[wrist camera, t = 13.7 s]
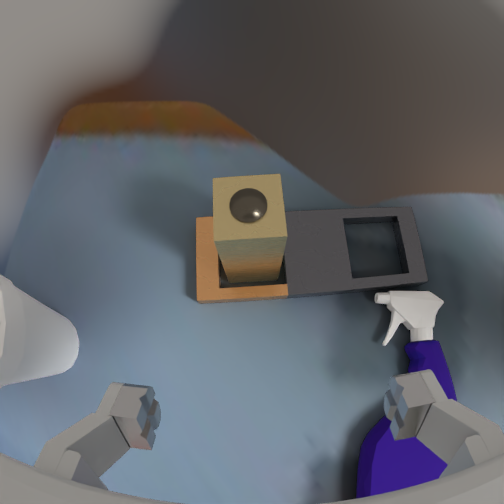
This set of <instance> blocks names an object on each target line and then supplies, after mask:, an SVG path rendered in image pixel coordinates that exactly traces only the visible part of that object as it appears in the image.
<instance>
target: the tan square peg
mask: <svg viewBox="0 0 504 504" xmlns="http://www.w3.org/2000/svg"><path fill="white" fill-rule="evenodd" d="M213 233H214V243H215V246H216V249H217V252H218V254H219V257H220V260H221V262H222V265H223V268H224V270H225V273H226V276H227V278H228V281H229V283H243V282H259V281H273V280H278V277H279V273H280V268H281V264H282V259H283V254H284V250H285V245H286V241H287V228H286V219H285V210H284V201H283V192H282V184H281V176H280V174H268V175H251V176H236V177H223V178H213Z"/></svg>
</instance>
